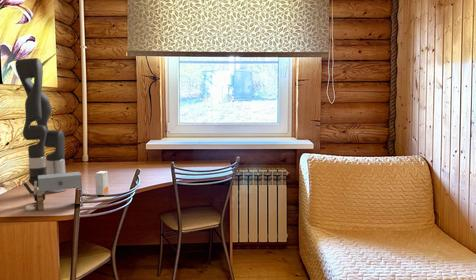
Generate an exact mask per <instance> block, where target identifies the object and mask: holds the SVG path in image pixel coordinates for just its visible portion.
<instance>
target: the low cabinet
mask: <svg viewBox="0 0 476 280" xmlns="http://www.w3.org/2000/svg"><path fill="white" fill-rule="evenodd" d="M82 182H83V180H82V174H81V171H75V172H74V171H73V172H72V171H71V172H65V173H59V174H48V175H38V185H39V187H38V190H39V192H43V191H48V192H49V191H53V190H62V189H66V190H72V189H77V188H79V189H81V194H82V195H83V183H82ZM81 201H83V202H84V198H83V197H81ZM80 207H84V203H83V204H81V206H80Z"/></svg>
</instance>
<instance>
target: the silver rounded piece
mask: <svg viewBox="0 0 476 280" xmlns="http://www.w3.org/2000/svg"><path fill="white" fill-rule="evenodd" d="M25 211H26V212H35V211H38V203H34V204H33V203H32V204H28V205H25Z"/></svg>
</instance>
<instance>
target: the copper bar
mask: <svg viewBox="0 0 476 280" xmlns="http://www.w3.org/2000/svg"><path fill="white" fill-rule="evenodd" d="M36 204H37V205H38V210H37V211H38V212H39V211H41V210H42V211H44V210H45V207H44V206H45V205H44V201H43V194H42V192H39V189H37V202H36Z"/></svg>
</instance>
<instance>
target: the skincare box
mask: <svg viewBox="0 0 476 280" xmlns="http://www.w3.org/2000/svg"><path fill="white" fill-rule="evenodd" d="M94 175H95V176H94V177H95V195H104V196H106V195H108V194H109V175H108V171H107V170H106V171H105V170H100V171H97V172H95V173H94Z"/></svg>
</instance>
